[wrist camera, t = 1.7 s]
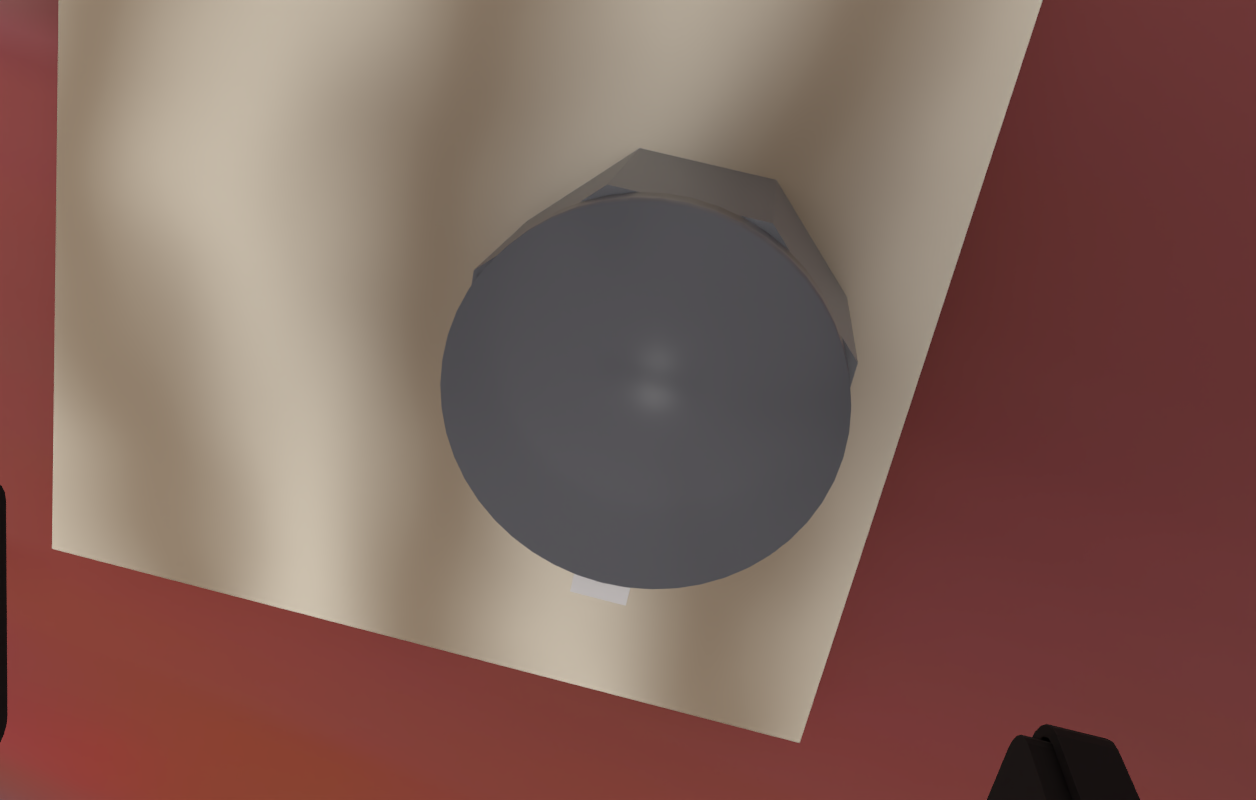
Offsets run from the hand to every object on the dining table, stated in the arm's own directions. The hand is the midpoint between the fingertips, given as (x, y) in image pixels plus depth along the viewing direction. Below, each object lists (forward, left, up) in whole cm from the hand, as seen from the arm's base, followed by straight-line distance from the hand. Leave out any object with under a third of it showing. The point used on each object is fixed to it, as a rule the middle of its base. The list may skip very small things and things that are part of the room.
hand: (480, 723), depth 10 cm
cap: (0, 0, -13) cm, 13 cm away
